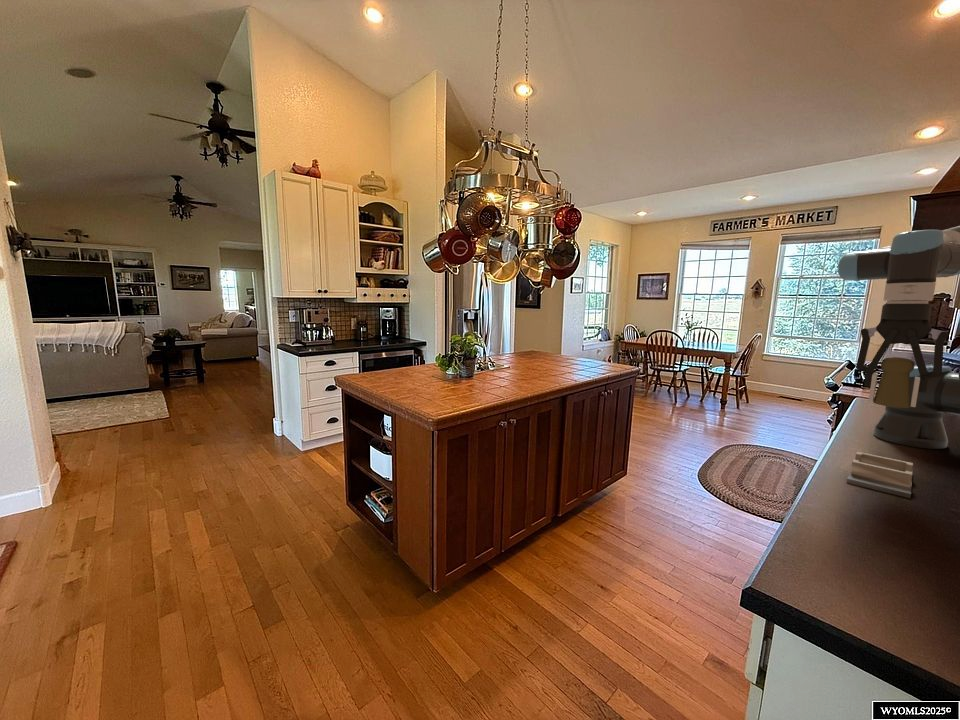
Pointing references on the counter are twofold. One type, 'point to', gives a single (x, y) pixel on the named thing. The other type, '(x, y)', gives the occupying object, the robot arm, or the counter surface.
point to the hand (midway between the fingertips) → (891, 402)
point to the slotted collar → (881, 474)
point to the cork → (895, 383)
